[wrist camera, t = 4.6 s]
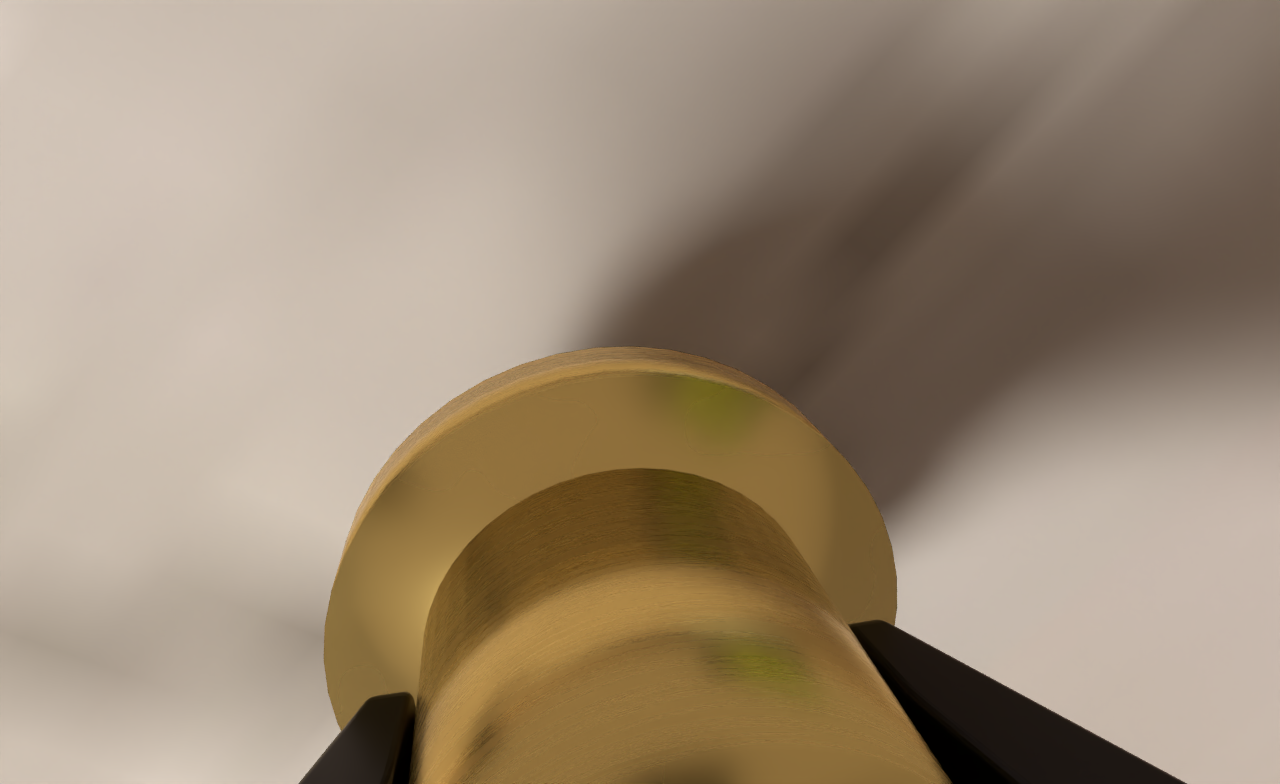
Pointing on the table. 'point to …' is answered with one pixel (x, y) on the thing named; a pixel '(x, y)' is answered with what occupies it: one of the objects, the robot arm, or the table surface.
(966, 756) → the robot arm
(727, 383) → the grey sliding bolt
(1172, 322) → the table surface
